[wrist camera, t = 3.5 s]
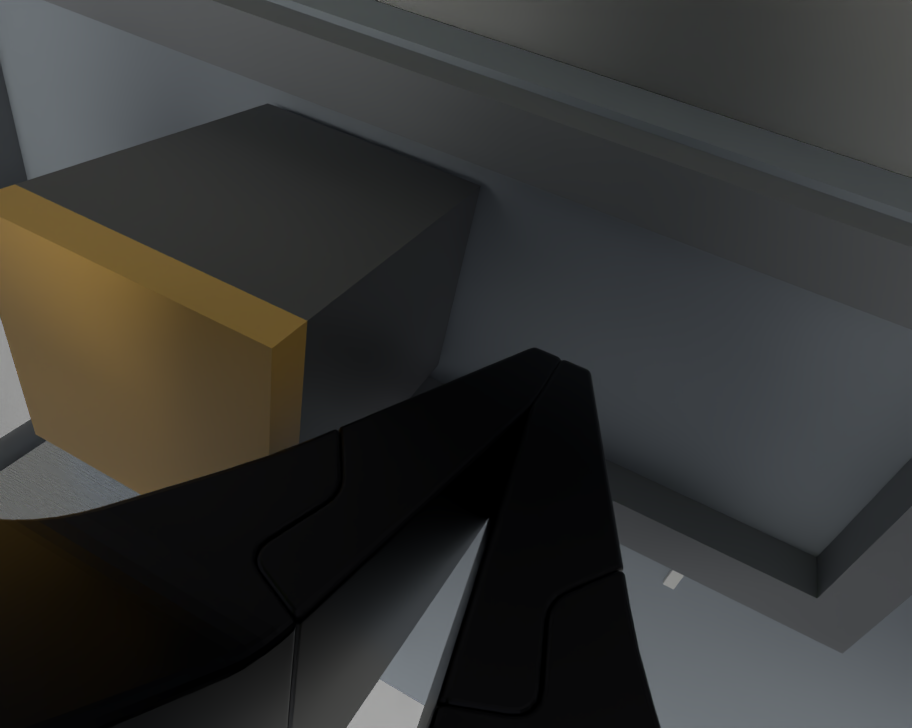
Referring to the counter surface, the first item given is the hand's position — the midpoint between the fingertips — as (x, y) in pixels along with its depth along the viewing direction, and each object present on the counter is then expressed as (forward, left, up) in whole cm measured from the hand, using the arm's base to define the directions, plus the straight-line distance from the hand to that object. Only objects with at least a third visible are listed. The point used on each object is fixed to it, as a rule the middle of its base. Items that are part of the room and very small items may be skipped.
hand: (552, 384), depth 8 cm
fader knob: (+4, 0, -1) cm, 4 cm away
